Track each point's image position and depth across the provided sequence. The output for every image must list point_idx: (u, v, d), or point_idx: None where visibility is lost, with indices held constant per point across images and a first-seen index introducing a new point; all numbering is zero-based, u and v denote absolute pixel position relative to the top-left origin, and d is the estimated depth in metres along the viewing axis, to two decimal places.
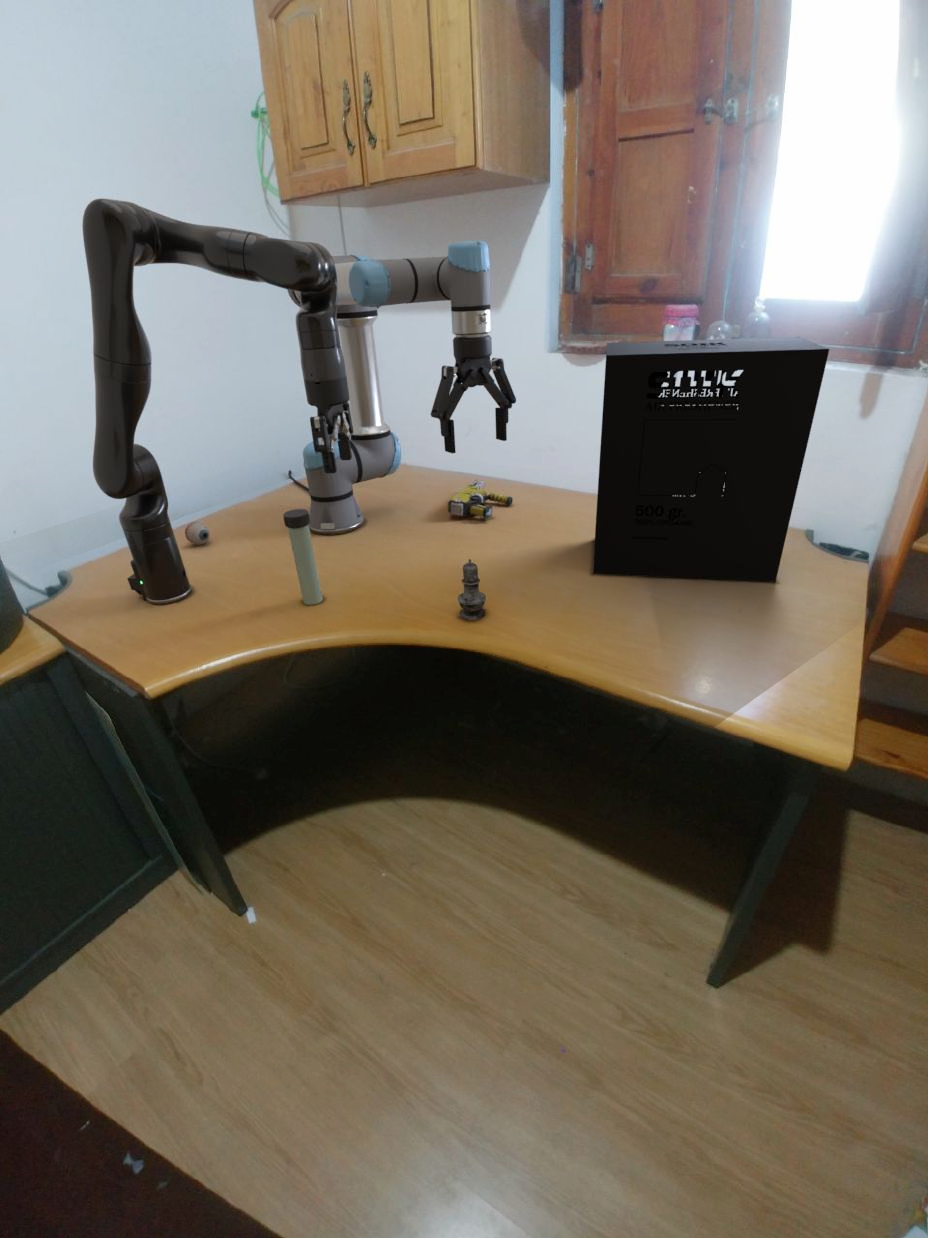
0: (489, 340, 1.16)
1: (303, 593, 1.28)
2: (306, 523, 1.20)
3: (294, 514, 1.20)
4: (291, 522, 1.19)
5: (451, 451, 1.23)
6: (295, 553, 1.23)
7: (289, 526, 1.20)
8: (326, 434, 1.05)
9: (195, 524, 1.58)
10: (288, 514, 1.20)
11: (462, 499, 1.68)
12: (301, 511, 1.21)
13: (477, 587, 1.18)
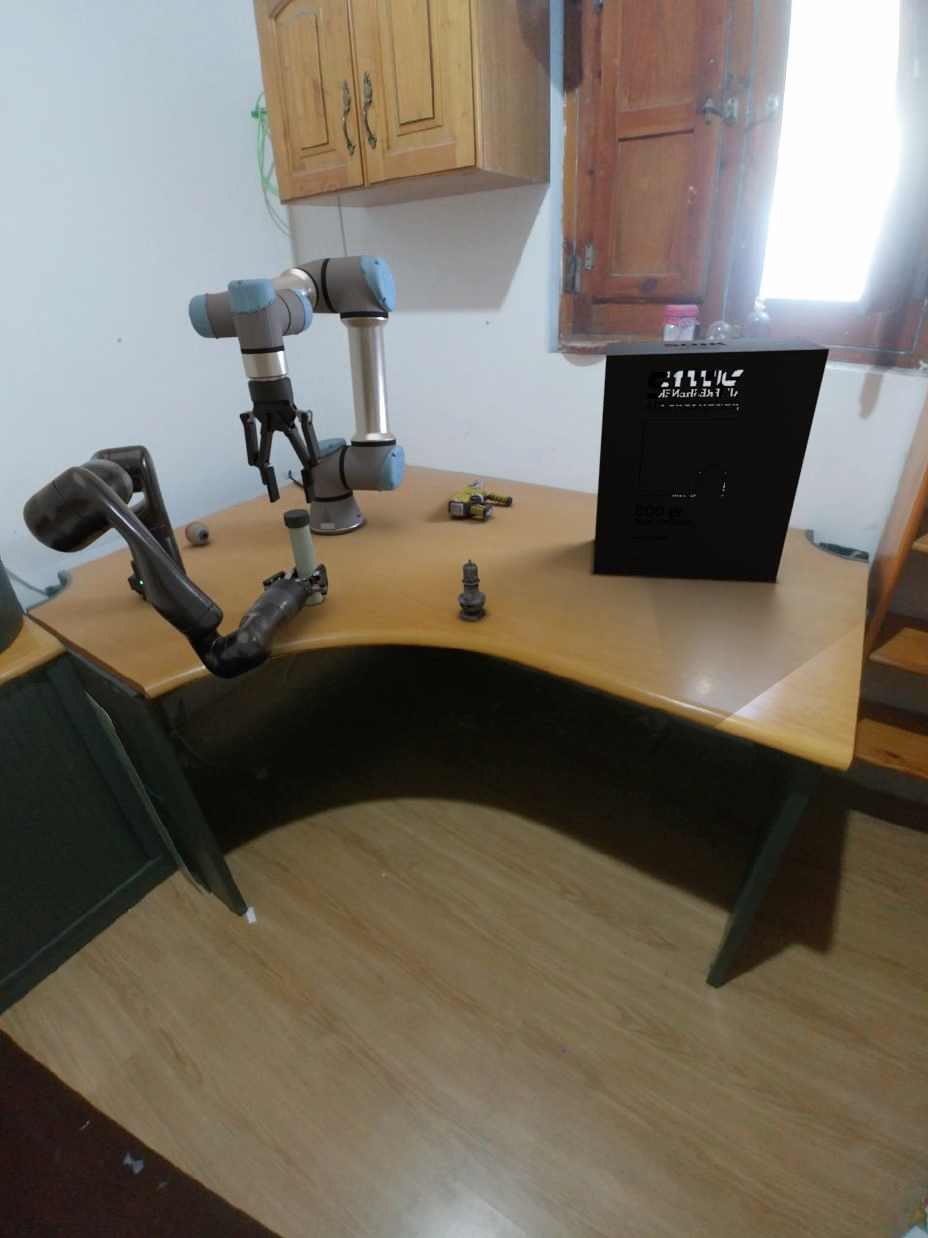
0: None
1: None
2: (306, 523, 1.21)
3: (294, 514, 1.20)
4: (291, 522, 1.19)
5: (315, 497, 1.19)
6: (295, 553, 1.23)
7: (289, 526, 1.20)
8: None
9: (195, 524, 1.58)
10: (288, 514, 1.20)
11: (462, 499, 1.68)
12: (301, 511, 1.21)
13: (477, 587, 1.18)
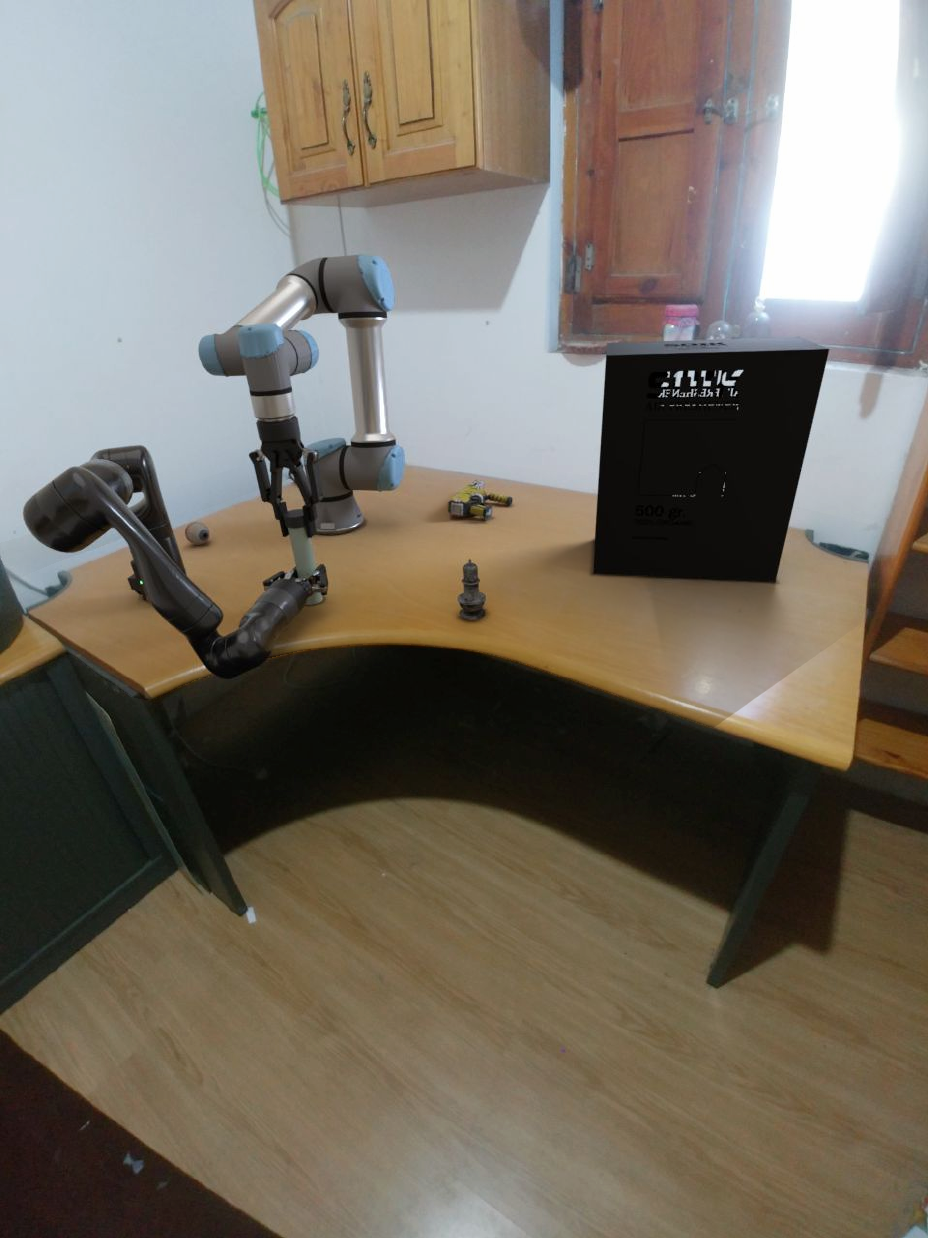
0: None
1: None
2: None
3: (294, 514, 1.20)
4: (291, 522, 1.19)
5: (316, 531, 1.23)
6: (295, 553, 1.23)
7: (289, 526, 1.20)
8: None
9: (195, 524, 1.58)
10: (288, 514, 1.20)
11: (462, 499, 1.68)
12: (301, 511, 1.21)
13: (477, 587, 1.18)
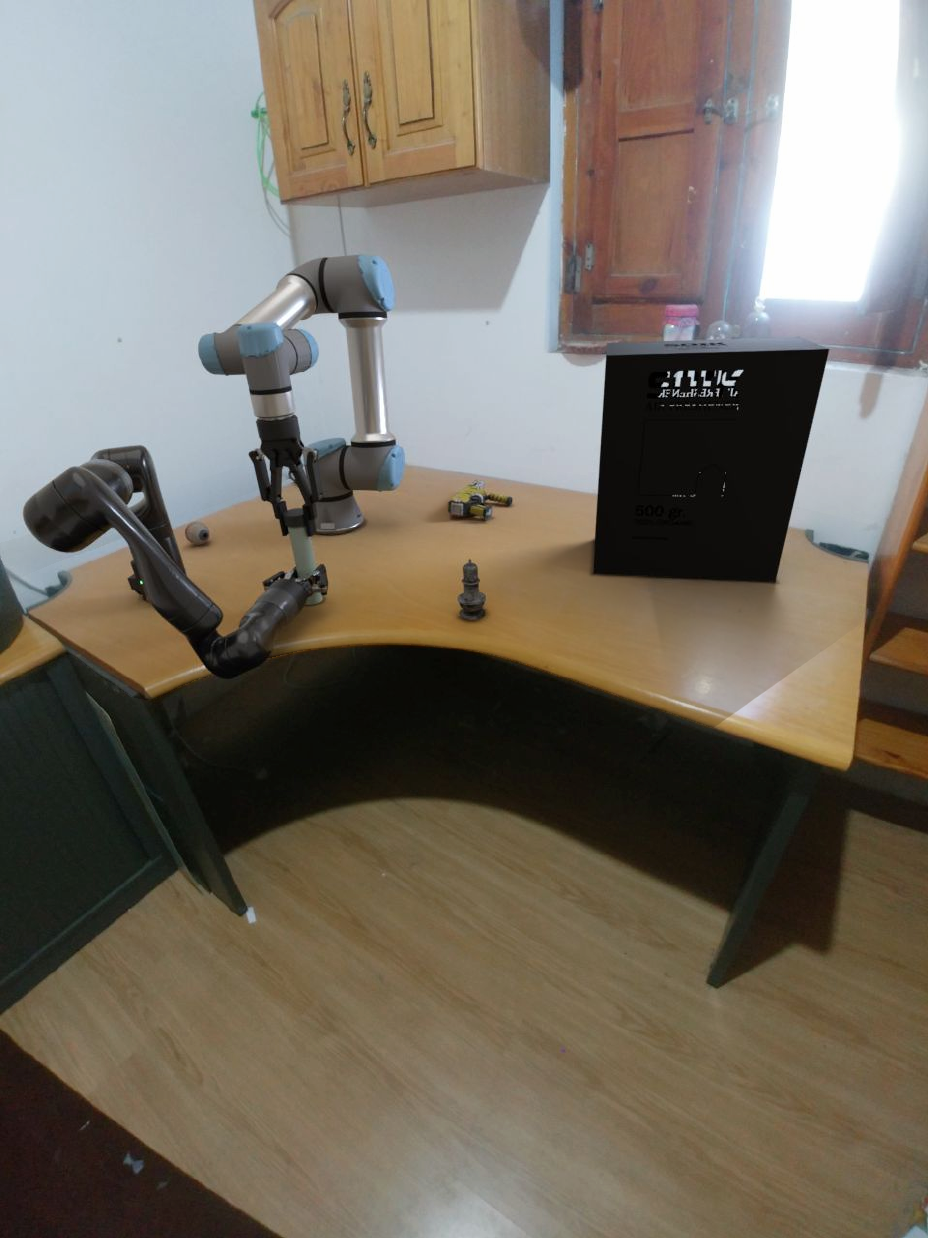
0: None
1: None
2: None
3: (299, 511, 1.21)
4: None
5: (315, 530, 1.23)
6: (294, 553, 1.23)
7: None
8: None
9: (195, 524, 1.58)
10: (300, 513, 1.20)
11: (462, 499, 1.68)
12: (289, 511, 1.21)
13: (477, 587, 1.18)
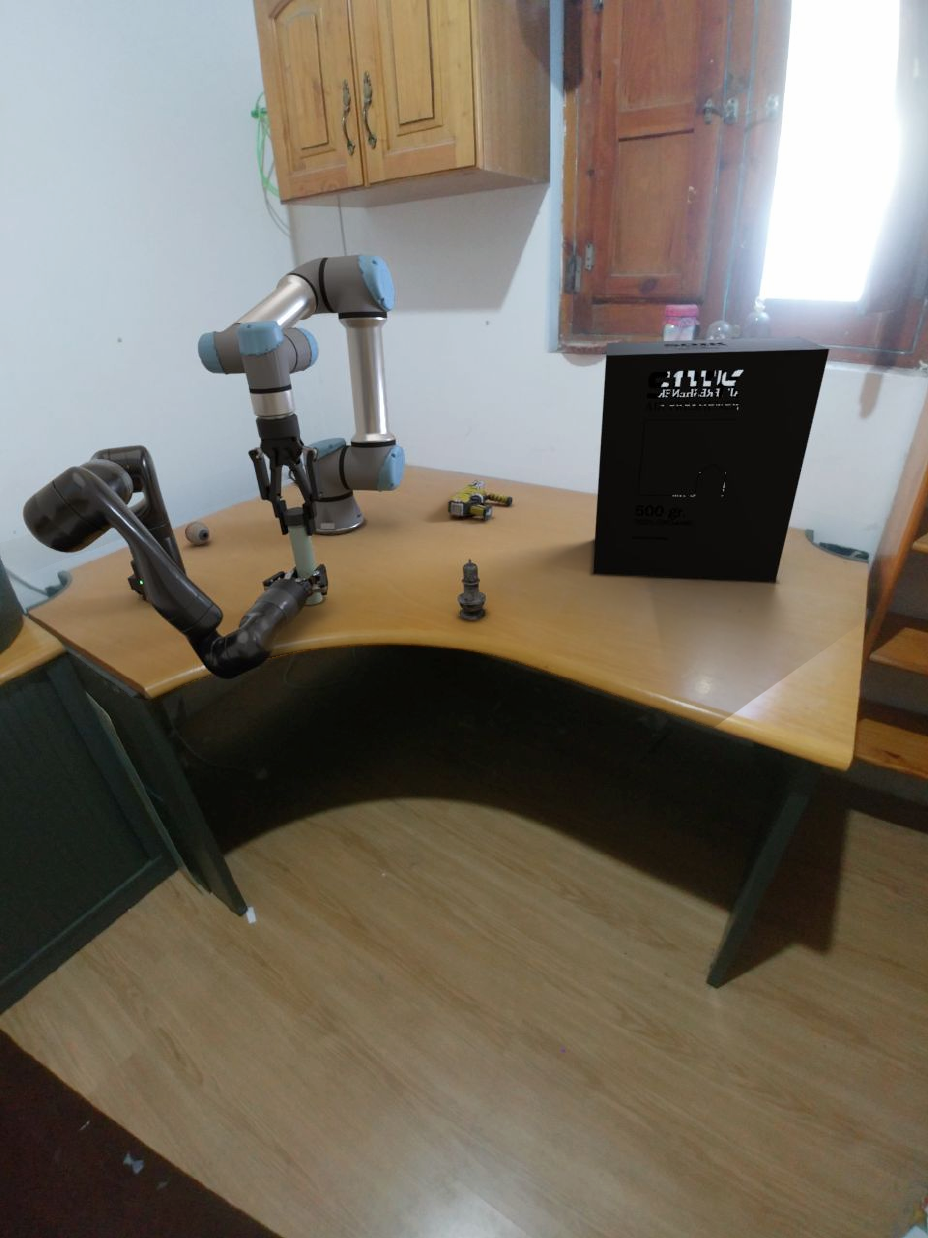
0: None
1: None
2: (285, 523, 1.20)
3: (291, 510, 1.21)
4: None
5: (315, 529, 1.23)
6: (294, 553, 1.23)
7: None
8: None
9: (195, 524, 1.58)
10: (296, 508, 1.22)
11: (462, 499, 1.68)
12: (295, 513, 1.19)
13: (477, 587, 1.18)
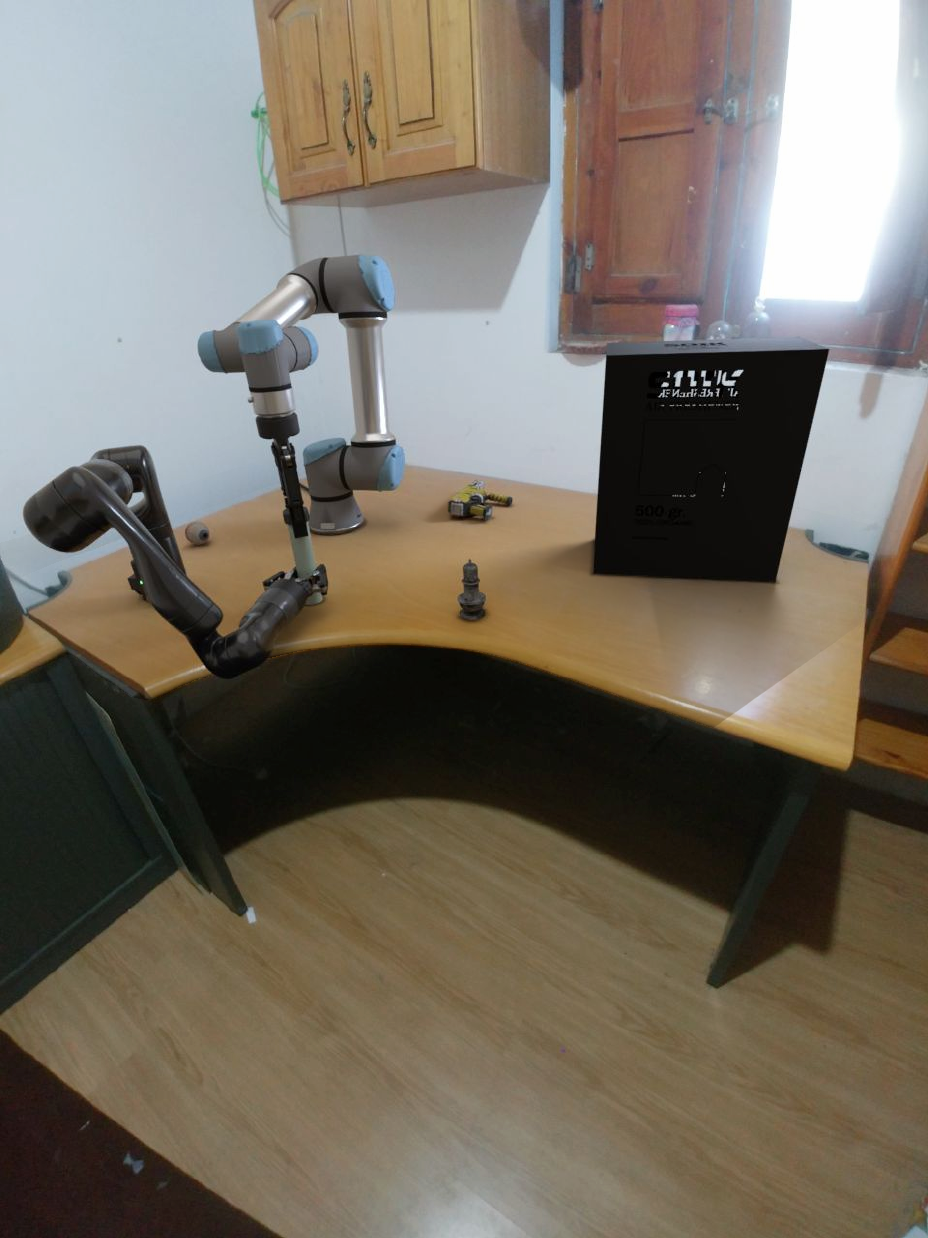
0: (259, 423, 1.09)
1: None
2: (307, 519, 1.21)
3: None
4: None
5: None
6: (294, 553, 1.23)
7: (291, 523, 1.19)
8: None
9: (195, 524, 1.58)
10: (288, 511, 1.20)
11: (462, 499, 1.68)
12: None
13: (477, 587, 1.18)
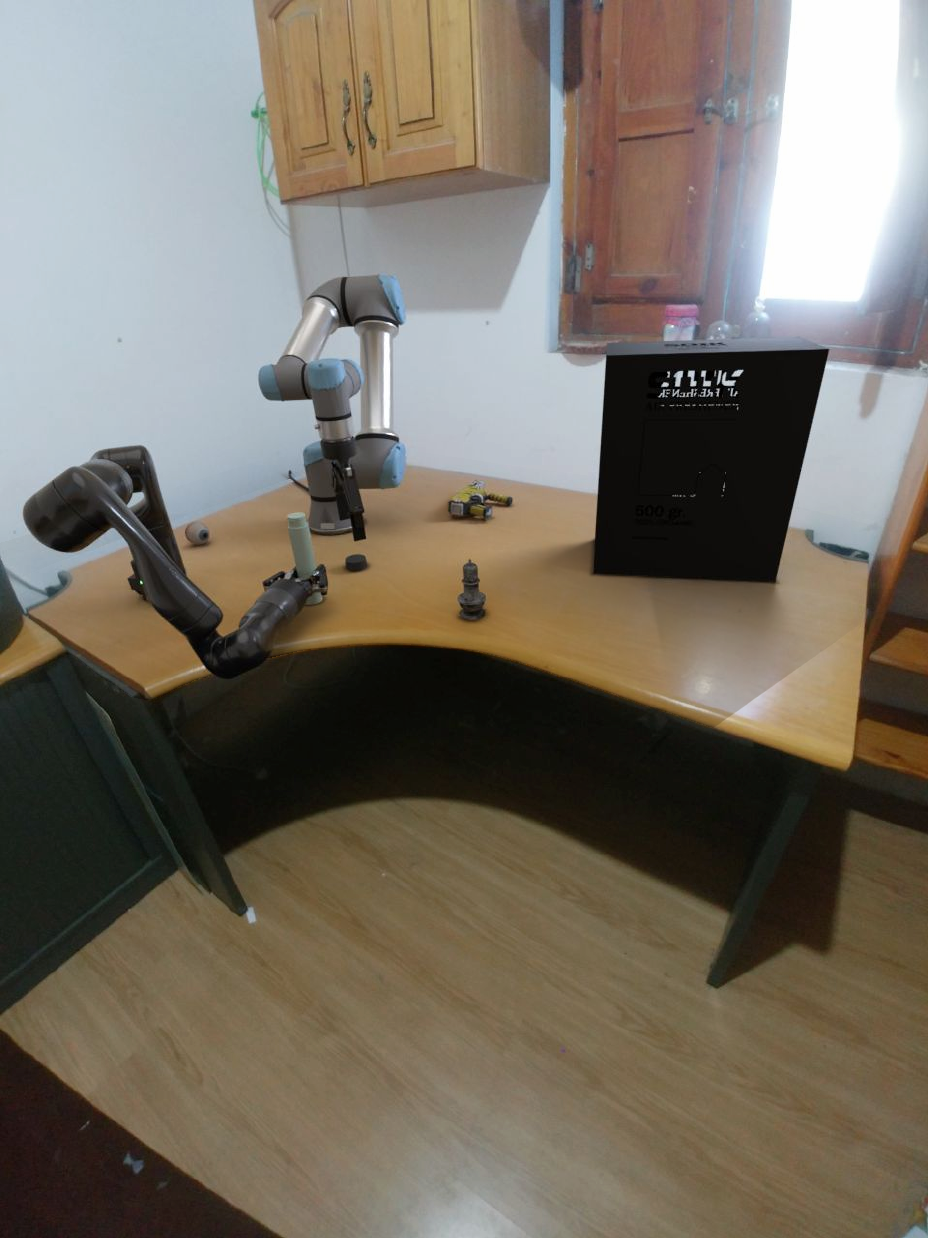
0: (324, 446, 1.27)
1: None
2: (365, 566, 1.44)
3: (355, 559, 1.43)
4: (355, 566, 1.42)
5: None
6: (294, 553, 1.23)
7: (352, 570, 1.42)
8: None
9: (195, 524, 1.58)
10: (350, 560, 1.43)
11: (462, 499, 1.68)
12: (359, 556, 1.44)
13: (477, 587, 1.18)
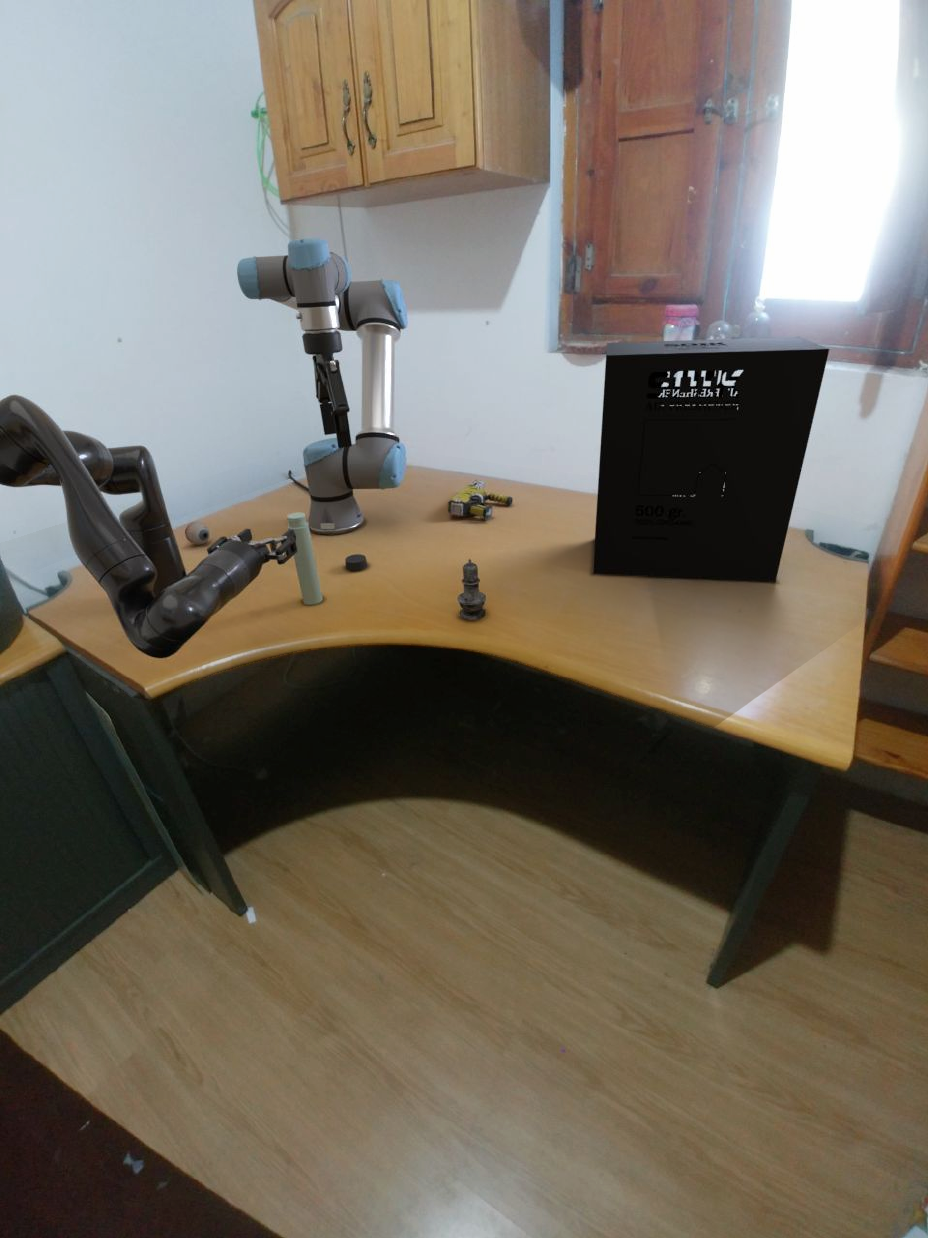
0: (306, 338, 1.17)
1: (303, 593, 1.28)
2: (365, 566, 1.44)
3: (355, 559, 1.43)
4: (355, 566, 1.42)
5: None
6: None
7: (352, 570, 1.42)
8: None
9: (195, 524, 1.58)
10: (350, 560, 1.43)
11: (462, 499, 1.68)
12: (359, 556, 1.44)
13: (477, 587, 1.18)
